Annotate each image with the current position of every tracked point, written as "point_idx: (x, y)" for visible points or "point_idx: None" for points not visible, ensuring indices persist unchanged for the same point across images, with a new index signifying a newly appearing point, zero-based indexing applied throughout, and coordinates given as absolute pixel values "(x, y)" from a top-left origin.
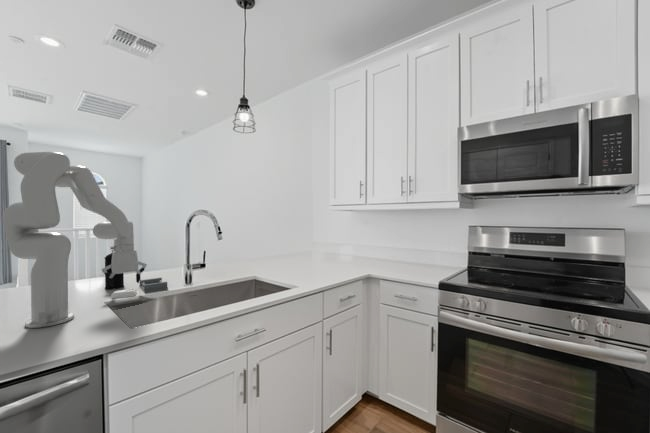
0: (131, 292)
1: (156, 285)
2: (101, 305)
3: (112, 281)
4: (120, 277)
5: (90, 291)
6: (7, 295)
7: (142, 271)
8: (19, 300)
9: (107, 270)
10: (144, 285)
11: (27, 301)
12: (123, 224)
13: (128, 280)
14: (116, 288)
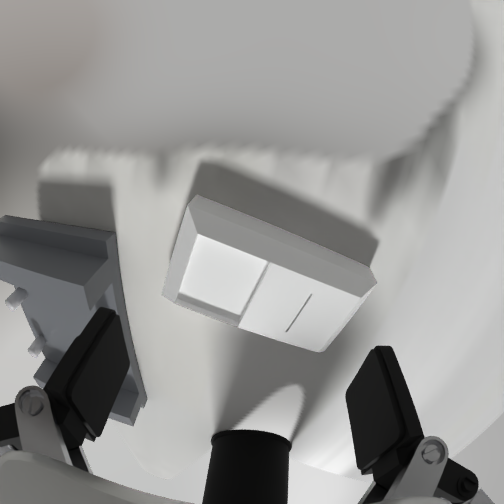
0: (215, 223)
1: (24, 257)
2: (481, 104)
3: (407, 396)
4: (224, 480)
5: (344, 443)
6: None
7: (4, 407)
8: (481, 424)
9: None
10: (82, 284)
11: (489, 410)
12: None
13: (186, 467)
14: (252, 431)
